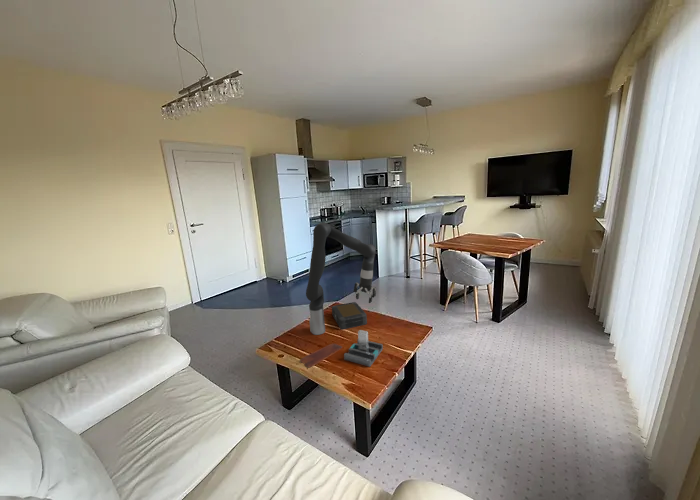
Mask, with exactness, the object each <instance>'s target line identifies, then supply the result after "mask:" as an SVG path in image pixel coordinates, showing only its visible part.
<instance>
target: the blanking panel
mask: <svg viewBox="0 0 700 500" xmlns="http://www.w3.org/2000/svg"><path fill="white" fill-rule="evenodd" d="M357 337H358V338H357V340H358V341H359V350H361V351H365V352H369V346H368V341H369V332H368V331H367V330H363V329H359V330H358V331H357Z"/></svg>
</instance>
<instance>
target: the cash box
mask: <svg viewBox="0 0 700 500" xmlns="http://www.w3.org/2000/svg"><path fill="white" fill-rule="evenodd" d="M331 314H332V315H331V316H332V317H333V319H334V320H335V322H336V323H337V326H338V328H339V329H340V330H346V329H351V328H357V327H360V326H365V325H367V324H368V319H367V318H368V317H367V316H368V314H367V313H366V312H365V311H364V310H363V308H362V307H361V306H360V305H359V304H358V303H357V302H356V301H353V302H347V303H340V304H336V305H333V306H331Z"/></svg>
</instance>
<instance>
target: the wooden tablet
mask: <svg viewBox="0 0 700 500" xmlns="http://www.w3.org/2000/svg"><path fill="white" fill-rule="evenodd" d="M342 348H343V346H342V345H340V344H338V343H331V344H328V345H326V346H324V347H322V348H320V349H317V350H315V351H313V352H311V353H310V354H307V355H306V356H304V357H302V358H300V360H299V363H300V364H304V366H305V367H306V368H308V369H309V368H311V367H314V366H315V365H317V364H319V363H321V362H323V361H324V360H326V359H327V358H329V357H330V356H333V355H334V354H335V353H337V352H339V351H340V350H342Z"/></svg>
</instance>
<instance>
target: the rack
mask: <svg viewBox="0 0 700 500" xmlns="http://www.w3.org/2000/svg"><path fill="white" fill-rule="evenodd" d="M356 340H357V343H355V342H354V343H353V344H351V346H350V347H349V348H348V352H345V353H344V354H343V360H344V361H347V362H352V363H355V364H358V365H362V366H365V367H369V368H371V367H372V365H373V364H374V362H375V361H376V360H377V358H378V356H379V355H380V354H381V352H382V351H383V349H384V347H383V345H384V344H383V343H378V342H376V341H372V340H371V341H370V340H368V346H369V352H365V351H361V350H359V341H358V339H356Z"/></svg>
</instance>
